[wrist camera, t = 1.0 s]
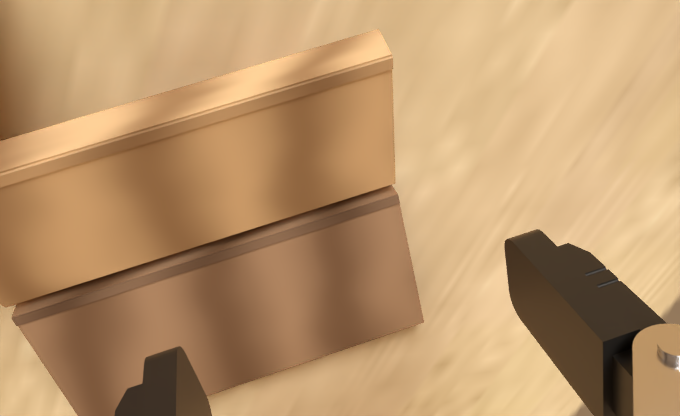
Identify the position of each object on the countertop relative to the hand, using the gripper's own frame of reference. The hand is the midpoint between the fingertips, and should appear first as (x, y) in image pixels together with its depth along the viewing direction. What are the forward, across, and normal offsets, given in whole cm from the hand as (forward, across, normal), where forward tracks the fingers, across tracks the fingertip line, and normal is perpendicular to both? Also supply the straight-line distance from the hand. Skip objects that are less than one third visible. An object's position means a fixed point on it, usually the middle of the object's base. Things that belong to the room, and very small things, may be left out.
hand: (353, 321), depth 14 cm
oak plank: (+15, +5, +2) cm, 16 cm away
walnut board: (+18, +5, +12) cm, 22 cm away
